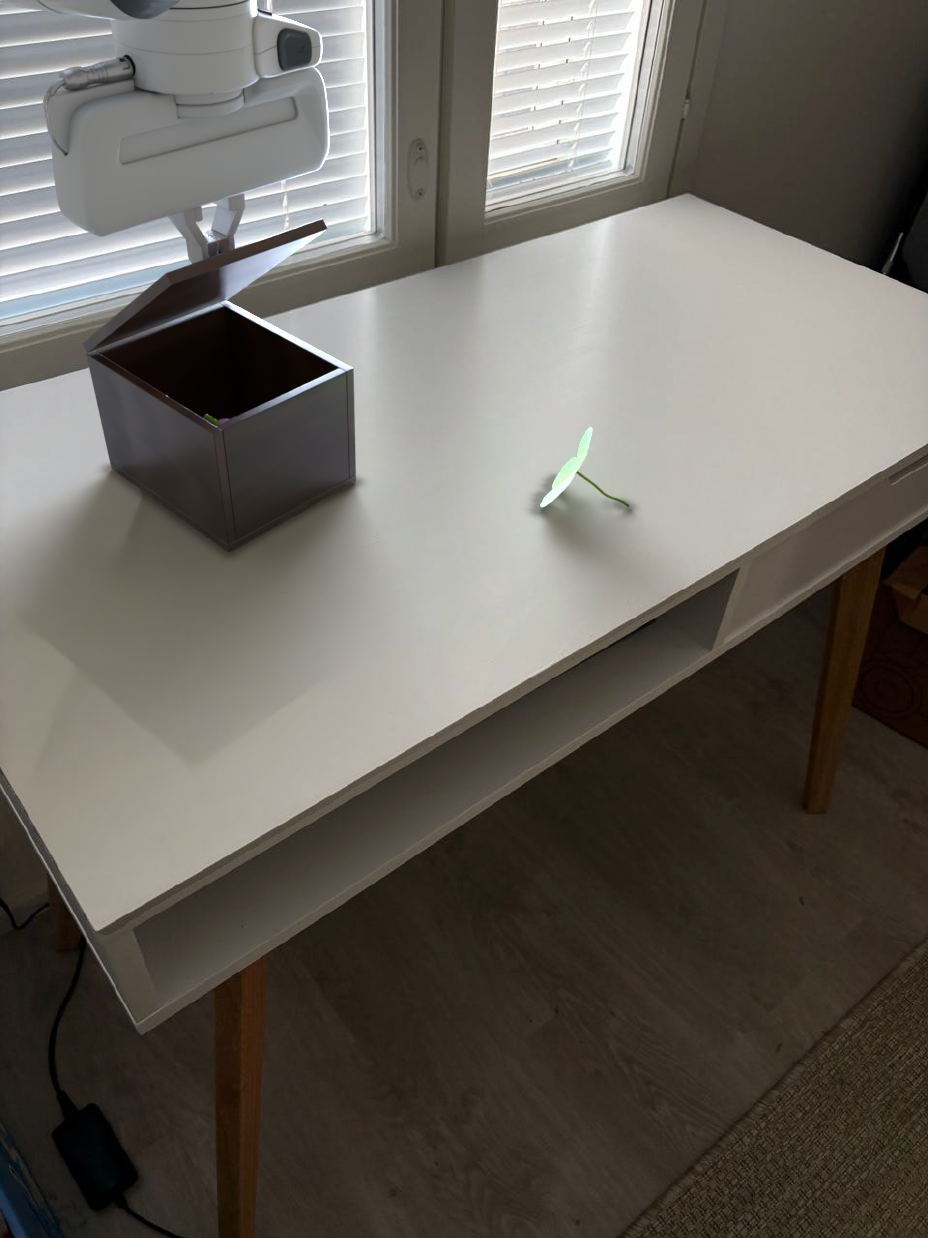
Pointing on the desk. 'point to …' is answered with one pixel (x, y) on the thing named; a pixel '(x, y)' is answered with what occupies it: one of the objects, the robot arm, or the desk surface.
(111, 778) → the desk surface
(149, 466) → the case
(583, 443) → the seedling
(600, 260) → the desk surface
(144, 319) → the cover
